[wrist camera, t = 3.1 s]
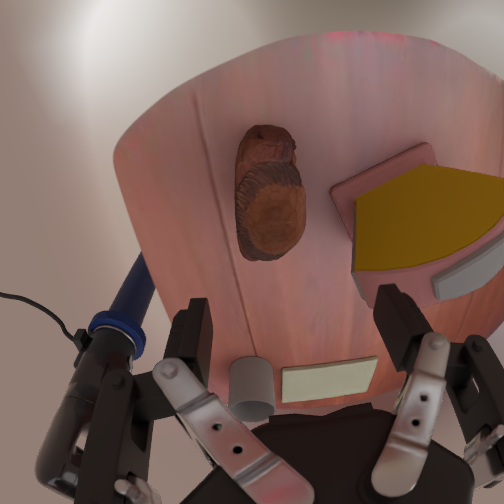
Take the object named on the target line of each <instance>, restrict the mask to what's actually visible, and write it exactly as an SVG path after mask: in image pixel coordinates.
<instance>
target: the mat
mask: <svg viewBox="0 0 504 504" xmlns="http://www.w3.org/2000/svg"><path fill="white" fill-rule="evenodd" d="M377 361H378V358H377V356H374V357H368V358H362V359H355V360H349V361H342V362H334V363H327V364H318V365H310V366H300V367H289V368H282V403H285V402H296V401H305V400H314V399H321V398H329V397H336V396H342V395H348V394H354V393H360V392H365V391H367V389H368V386H369V384H370V381H371V378H372V375H373V373H374V370H375V367H376V364H377Z"/></svg>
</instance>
